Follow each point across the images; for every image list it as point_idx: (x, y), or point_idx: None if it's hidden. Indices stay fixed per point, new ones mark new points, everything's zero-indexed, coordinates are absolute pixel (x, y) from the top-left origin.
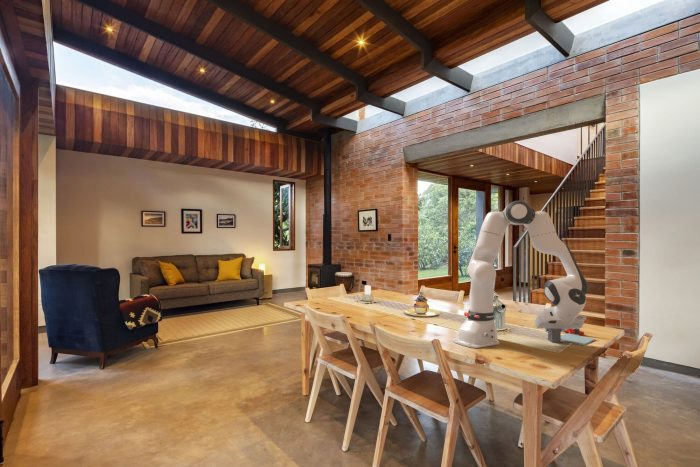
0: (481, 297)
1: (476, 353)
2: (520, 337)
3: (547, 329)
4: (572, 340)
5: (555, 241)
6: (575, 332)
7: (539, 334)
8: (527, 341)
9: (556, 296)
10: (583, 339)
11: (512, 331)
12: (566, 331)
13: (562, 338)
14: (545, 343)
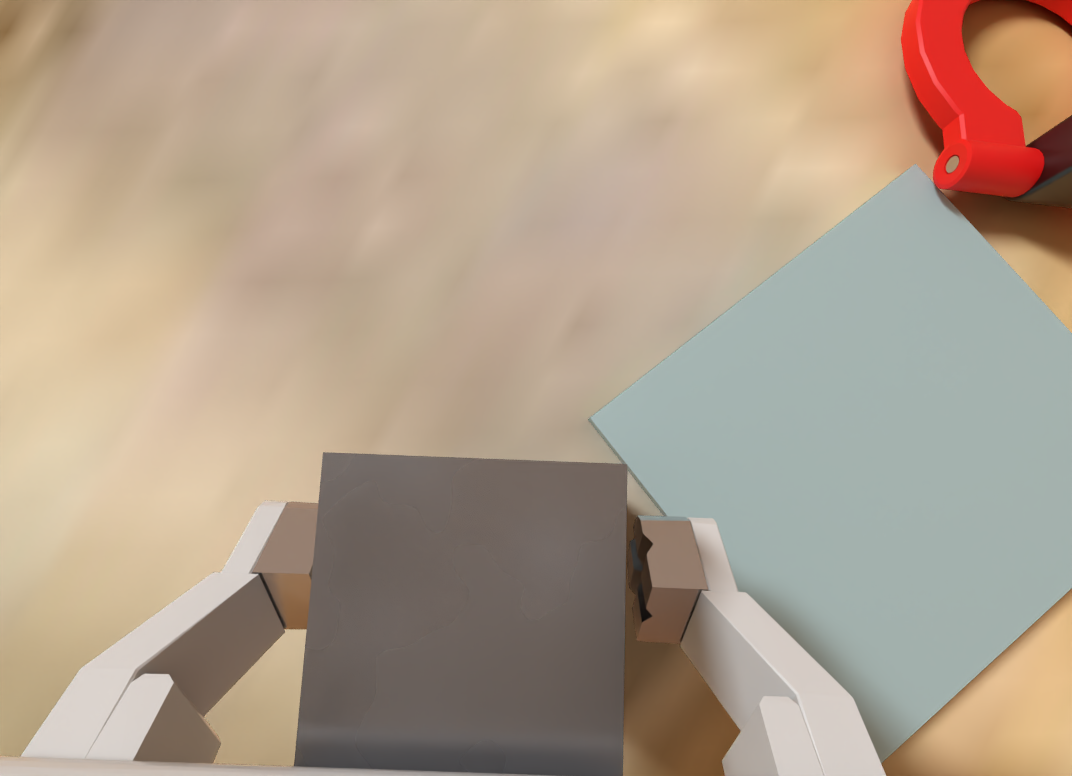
0: None
1: None
2: (52, 351)
3: (290, 618)
4: (790, 562)
5: None
6: (1033, 195)
7: (449, 186)
8: (47, 566)
9: None
10: (998, 502)
11: (101, 41)
12: (922, 103)
13: (677, 457)
14: (289, 667)
